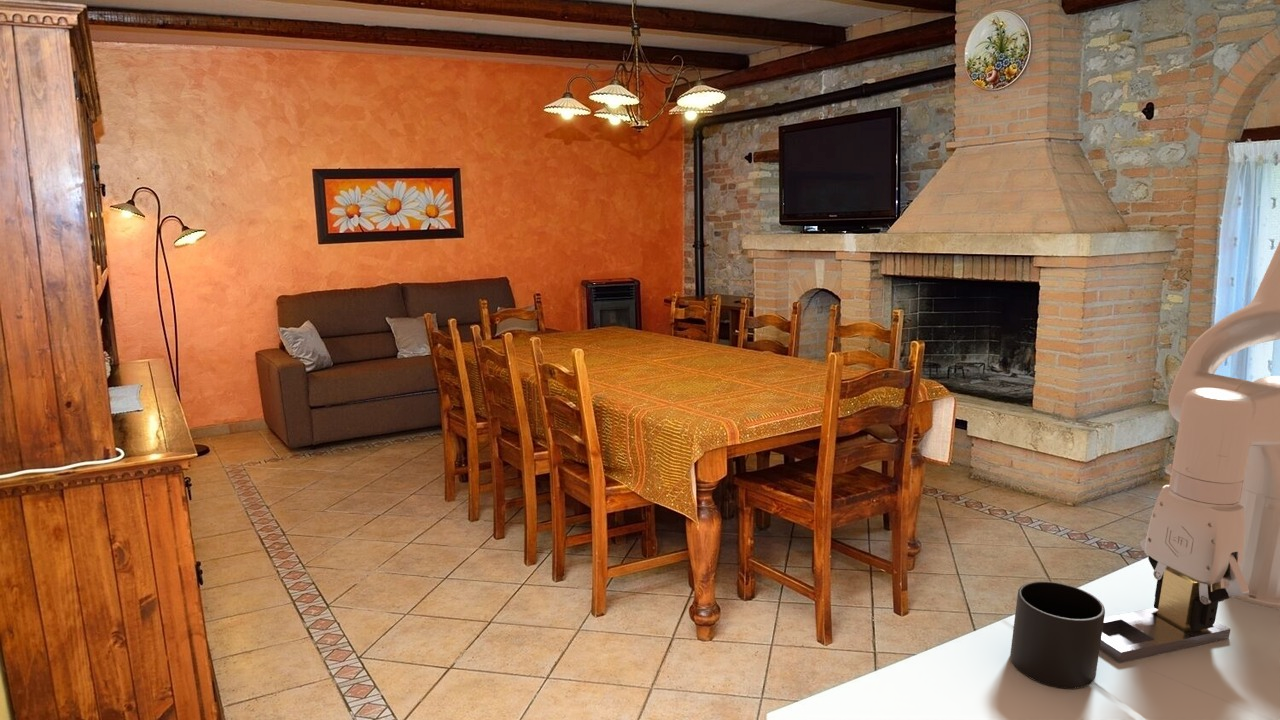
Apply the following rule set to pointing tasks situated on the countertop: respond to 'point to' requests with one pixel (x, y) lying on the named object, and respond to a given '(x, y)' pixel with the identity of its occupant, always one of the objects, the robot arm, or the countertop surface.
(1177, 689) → the countertop surface
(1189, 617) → the wooden block
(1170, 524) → the robot arm
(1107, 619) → the grey slotted board
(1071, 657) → the mug
